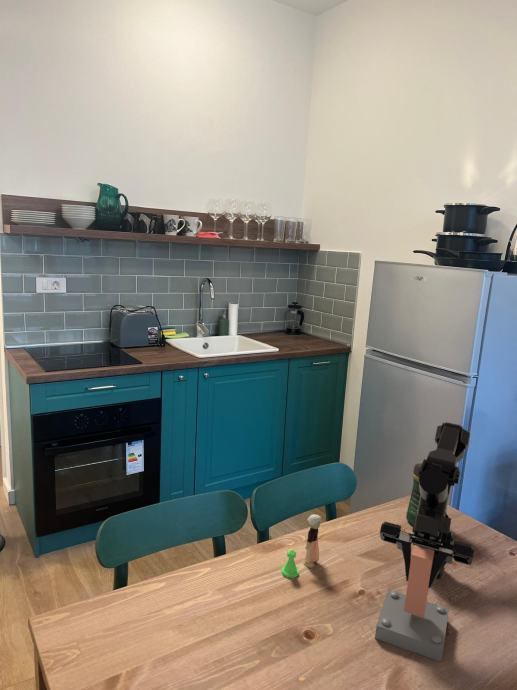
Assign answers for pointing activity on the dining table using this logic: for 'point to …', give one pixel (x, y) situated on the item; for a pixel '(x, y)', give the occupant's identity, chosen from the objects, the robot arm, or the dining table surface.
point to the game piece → (290, 566)
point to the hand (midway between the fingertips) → (418, 584)
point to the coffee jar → (414, 496)
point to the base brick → (412, 627)
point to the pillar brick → (418, 580)
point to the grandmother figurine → (312, 541)
